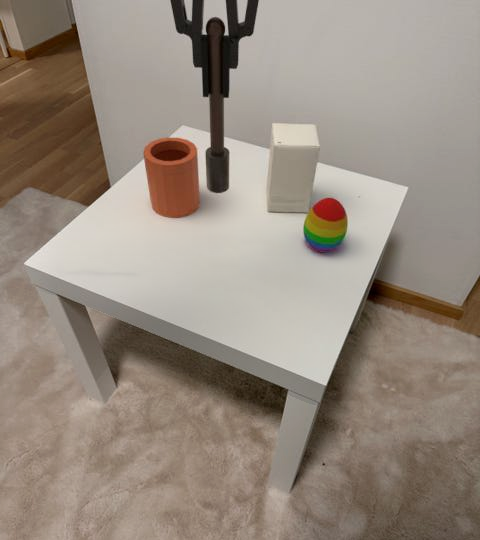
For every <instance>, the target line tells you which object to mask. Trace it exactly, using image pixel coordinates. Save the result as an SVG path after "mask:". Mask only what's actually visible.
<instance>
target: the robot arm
mask: <svg viewBox="0 0 480 540" xmlns="http://www.w3.org/2000/svg"><path fill="white" fill-rule="evenodd" d="M191 1H192V2H191V4H192V5H191V20H190V19H188V14H187V8H186V3H185V0H170V1H169V2H170V5H171V6H170V7H171V11H172V16H173V21H174V25H175V30H176V32H177V33H178V34H180V35H185V36H187V37H189V38H190V40H191V50H192V64H193V67H194V68H198V69H199V68H200V69H201V84H202V85H201V86H202V98H209V70H208V36H207V33H206V34H203V30H204V15H205V14H204V11H205V0H191ZM259 2H260V0H247V1H246V7H245V15H244V20H243V21H242V22H240V21H239V8H238V0H225V11H226V21H227V33H228V34H224V40H223V98H224V99H229V98H230V85H231V83H230V75H231V74H230V70H237V68H238V66H239V54H240V53H239V52H240V51H239V50H240V49H239V47H240V41H241V39H243V38H245V37H252V36H253V35H254V32H255V25H256V19H257V14H258V7H259Z"/></svg>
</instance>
